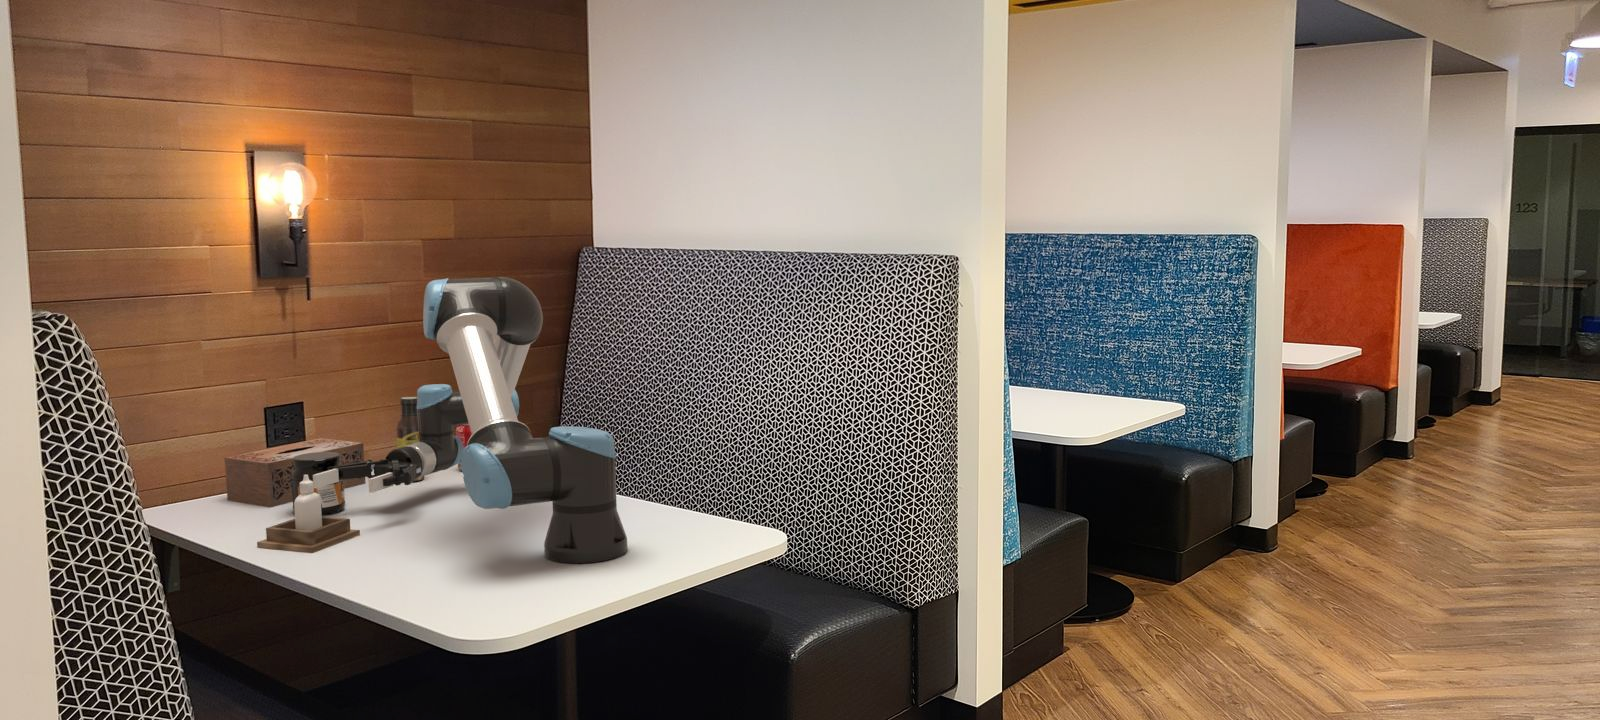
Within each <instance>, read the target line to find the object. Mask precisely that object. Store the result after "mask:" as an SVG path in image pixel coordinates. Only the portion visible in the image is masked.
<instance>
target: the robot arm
mask: <svg viewBox="0 0 1600 720" xmlns="http://www.w3.org/2000/svg"><path fill="white" fill-rule="evenodd" d="M423 297H424V298H423V313H422V314H423V316H422V318H423V319H422V321H423V323H422V325H423V334H424V337H425V338H426V339H428V340H429V339H430V340H432V341H434V340H435V339H436V342H437V345H438V347H439V349H440V350H442V351H443V352H444V353H446V354H448V355H449V358H450V361H451V365H452V369H453V373H454V376H455V380H456V382H457V387H458V390H459V391H453V389H452V386H451V385H450V384H445V383H438V384H436V383H434V384H424V385H422V386H420V387H419V388H418V389H417V391H416V392H417V394H416V395H417V396H416V397H417V412H418V426H419V442H418V443H414V444H410V445H407V446H405V447H401V448H397V447H396V448H395V449H392V450H390V451H389V452H388V453H387V455H386V457H385V458H383V459H382V458H381V459H379V460H374V461H373V460H372V459H367V460H364V461H363V462H358V463H351V464H345V465H338V466H330V467H327V471H325V472H322V473H318V474H315V475H313V487H314V488H320V487H323V486H326V485H329V484H337V482H339V480H344V479H352V478H361V477H365V478H367V479H368V480H367V481H368V492H369V493H376V492H378V491H382V490H385V489H387V488H390V487H394V486H401V484H404V486H409V485H411V484H412V483H414V482H415V481H414V479H416V478H417V480H420V479H421V477H422V476H424V477H427V476H428V475H431V474H434V473H437V472H440V471H446V470H448V469H450V468H453V467H455V466H456V465H458V463H459V462H460V461H461V468H462V470H461V473H462V474H463V482H464V487H465V489H466V492H467V494H468V496H469V499H471V501H472V502H473V504H474V505H476V506H477V507H479V508H481V509H484V510H489V509H490V510H491V509H501V510H502V509H503V510H504V509H508V507H515V506H523V505H531V504H533V505H534V504H539V503H548V502H549V503H550V502H552V515H551V517H550V522H549V525H548V529H547V532H546V535H545V540H544V543H543V545H544V546H543V547H544V556H545V558H547V559H549V560H551V561H554V562H560V563H568V564H587V563H597V562H604V561H608V560H612V559H615V558H618V557H620V556H623V555H624V554H626V553H627V551H628V537H627V534H626V531H625V528H624V526H623V524H622V521H621V517H620V514H619V512H618V508H617V482H616V481H617V475H616V474H617V473H616V471H617V470H616V459H617V455H616V449H615V448H616V447H615V440H614V437H613V436H612V434H611V433H609V432H608V431H605V430H602V429H598V428H592V427H583V426H571V425H570V426H568V425H567V426H566V425H565V426H563V425H562V426H554V427H551V428H550V429H549V432H548V436H546V437H533V436H532V431H531V430H530V428H529V427H528V426H527V425H526V424H525V423H523V422H521V421H519V420H518V415H519V413H520V412H519V409H520V400H519V399H520V398H519V395H518V392H517V390H516V387H517V384H518V380H519V377H520V376H521V373H522V369H523V366H524V365H525V360H526V358H527V355H528V352H529V350H530V347H531V344H533V343H534V342H536V341H537V340H538V338H539V336H540V333H541V331H542V327H543V322H544V321H543V320H544V316H543V314H544V313H543V311H542V306H541V304H540V301H539V300H538V298H537V296H536V295H535V294H534V293H533V291H532V290H531V289H530V288H529V287H528V286H527V285H525V284H524V283H522V282H520V281H519V280H517V279H514V278H509V277H506V276H505V277H503V276H501V277H500V276H497V277H472V278H471V277H470V278H468V277H467V278H464V277H463V278H461V277H460V278H448V277H447V278H442V279H441V278H440V279H434V280H431V281H430V282H428V283H427V284H426V288H425V291H424V295H423ZM465 424H469V426H470V430H471V433H472V436H471V437H470V438H469V440H468V442H467V446H466V447H465V448H463V445H462V443H461V441H460V439H459V438H458V437H456V434H455V433H454V426H458V425H465ZM372 472H373V474H372ZM413 481H414V482H413ZM420 481H421V480H420Z"/></svg>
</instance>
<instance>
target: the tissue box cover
mask: <svg viewBox="0 0 1600 720" xmlns="http://www.w3.org/2000/svg"><path fill="white" fill-rule="evenodd" d="M313 452H335V453H339V454H340V459H341V463H340V464H339V465H345V464H351V463H358V462H363V461H365V452H364V442H357V441H350V440H341V439H331V438H325V437H319V438H315V439H310V440H306V441H300V442H296V443H295V442H293V443H290V444H285V445H279V446H276V447H270V448H266V449H260V450H256V451H251V452H246V453H240V454H237V455H231V456H227V457H224V470H225V483H226V485H225V486H226V497H227V501H228V502H234V503H239V504H240V503H241V504H246V505H247V504H248V505H251V506H259V507H264V508H274V507H275V508H276V507H279V506H282V505H287V504H290V503H293V498H292V482H291V477H290V474H291V472H292V471H293V470H294V468H293V467H292V458H293V457H295V456H297V455H301V454H306V453H313ZM365 484H366V477H361V478H352V479H344V490H346V489H350V488H353V487H354V488H355V487H357V486H360V485H361V486H362V485H365Z"/></svg>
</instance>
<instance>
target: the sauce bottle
mask: <svg viewBox="0 0 1600 720" xmlns="http://www.w3.org/2000/svg"><path fill="white" fill-rule="evenodd" d="M400 404H401V405H400V406H401V413H400V414H401V415H400V416H401V418H400V420H399V421H398V423H397V425H396V426H397V427H396V449H397V448H401V447H405V446H407V445H410V444H414V443H418V442H419V426H418V412H417V396H404V397H400ZM424 479H425V476H422V477H421V479H420V480H417V478H416V479H414V481H413V482H412V483H414V482H420V481H422V480H424Z"/></svg>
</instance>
